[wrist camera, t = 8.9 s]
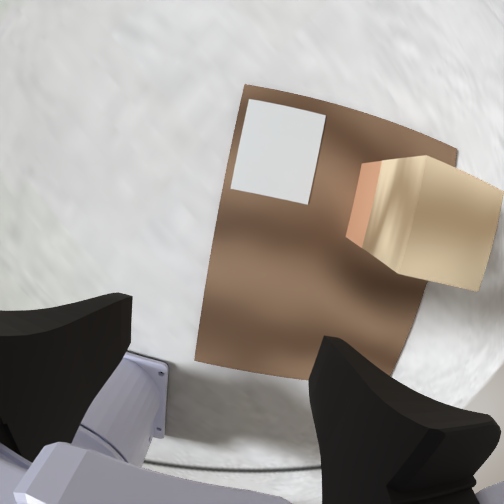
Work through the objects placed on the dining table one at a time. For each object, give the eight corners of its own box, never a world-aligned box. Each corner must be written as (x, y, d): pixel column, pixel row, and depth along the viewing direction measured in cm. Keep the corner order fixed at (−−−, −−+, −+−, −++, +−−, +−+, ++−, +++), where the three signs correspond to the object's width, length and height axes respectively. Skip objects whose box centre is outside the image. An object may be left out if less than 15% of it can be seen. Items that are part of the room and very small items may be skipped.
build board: (383, 384, 23) (385, 387, 23) (195, 357, 23) (193, 361, 22) (454, 149, 18) (457, 148, 18) (244, 86, 18) (244, 83, 18)
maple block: (431, 264, 17) (478, 291, 12) (361, 247, 16) (398, 273, 12) (450, 185, 15) (503, 191, 11) (381, 160, 15) (426, 155, 10)
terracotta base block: (408, 251, 20) (431, 264, 17) (345, 236, 20) (361, 248, 16) (424, 183, 19) (450, 185, 15) (361, 163, 19) (381, 160, 15)
